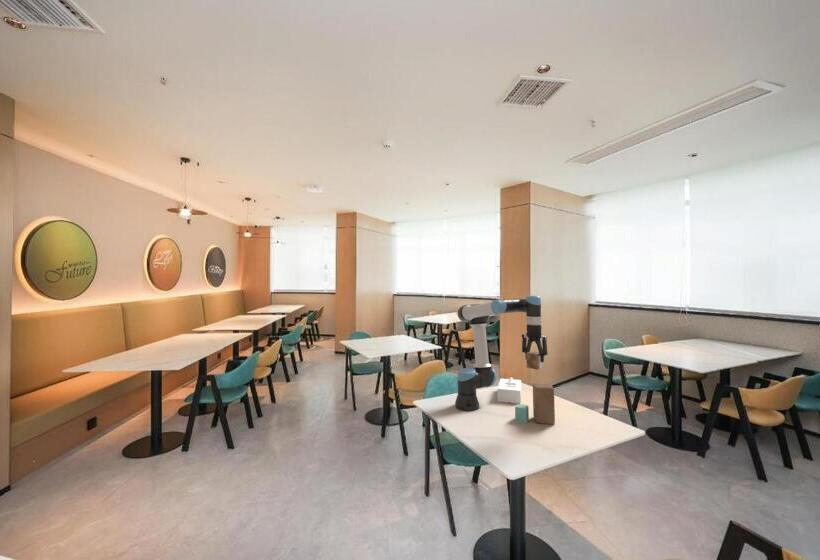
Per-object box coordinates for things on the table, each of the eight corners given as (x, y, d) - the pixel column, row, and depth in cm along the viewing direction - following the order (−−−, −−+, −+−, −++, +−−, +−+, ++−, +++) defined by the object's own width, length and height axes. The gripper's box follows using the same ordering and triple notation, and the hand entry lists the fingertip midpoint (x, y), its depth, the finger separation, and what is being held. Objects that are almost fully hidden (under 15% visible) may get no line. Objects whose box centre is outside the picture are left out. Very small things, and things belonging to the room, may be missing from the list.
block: (555, 424, 181) (554, 388, 182) (536, 423, 183) (535, 387, 184) (551, 417, 191) (550, 382, 191) (533, 416, 193) (532, 382, 193)
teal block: (515, 421, 187) (515, 406, 188) (518, 417, 193) (517, 403, 193) (526, 423, 184) (525, 408, 184) (528, 419, 189) (528, 405, 189)
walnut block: (526, 367, 179) (526, 352, 179) (532, 365, 183) (532, 351, 183) (537, 369, 174) (536, 354, 174) (542, 367, 178) (542, 352, 178)
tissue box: (497, 401, 219) (497, 385, 219) (500, 390, 243) (500, 375, 243) (520, 404, 214) (520, 387, 214) (521, 392, 238) (521, 376, 238)
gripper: (514, 323, 183) (515, 365, 183) (547, 326, 169) (548, 371, 169) (521, 322, 188) (522, 362, 188) (554, 324, 174) (555, 368, 174)
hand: (534, 366), depth 179 cm, fingers closed on walnut block, 6 cm apart
